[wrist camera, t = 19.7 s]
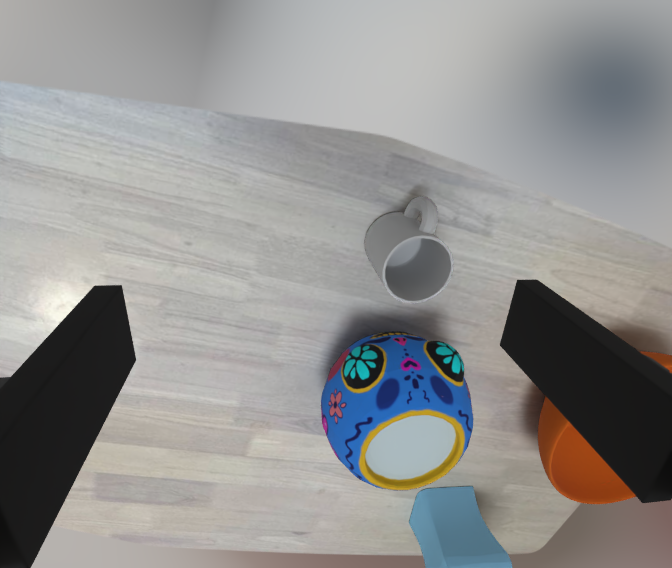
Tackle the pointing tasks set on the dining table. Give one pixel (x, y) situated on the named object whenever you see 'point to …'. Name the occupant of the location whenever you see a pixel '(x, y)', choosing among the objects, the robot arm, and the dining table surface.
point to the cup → (410, 252)
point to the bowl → (580, 457)
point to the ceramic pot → (398, 410)
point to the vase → (454, 530)
